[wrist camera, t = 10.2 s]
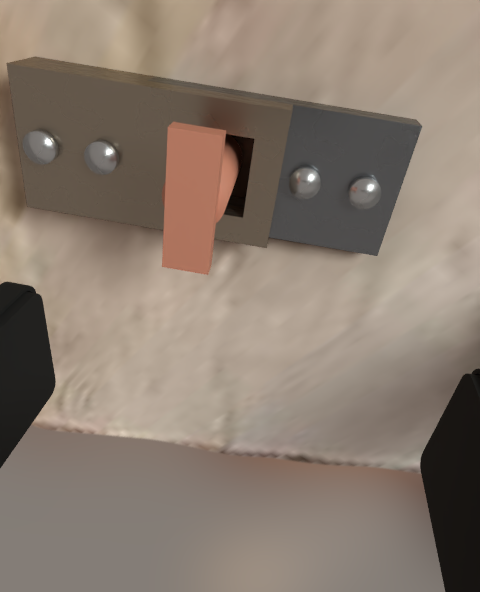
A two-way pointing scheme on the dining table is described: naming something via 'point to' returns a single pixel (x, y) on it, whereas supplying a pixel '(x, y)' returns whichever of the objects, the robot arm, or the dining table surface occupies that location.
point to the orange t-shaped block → (196, 193)
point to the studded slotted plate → (213, 114)
